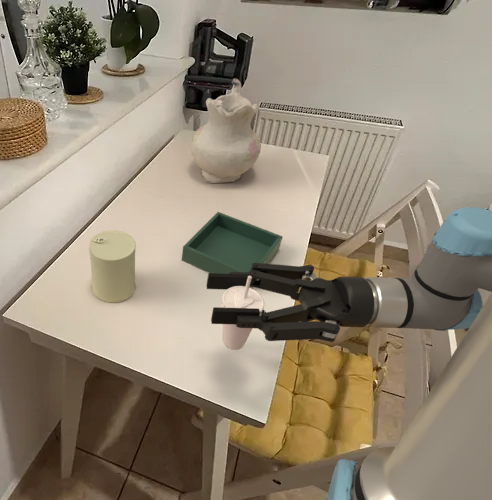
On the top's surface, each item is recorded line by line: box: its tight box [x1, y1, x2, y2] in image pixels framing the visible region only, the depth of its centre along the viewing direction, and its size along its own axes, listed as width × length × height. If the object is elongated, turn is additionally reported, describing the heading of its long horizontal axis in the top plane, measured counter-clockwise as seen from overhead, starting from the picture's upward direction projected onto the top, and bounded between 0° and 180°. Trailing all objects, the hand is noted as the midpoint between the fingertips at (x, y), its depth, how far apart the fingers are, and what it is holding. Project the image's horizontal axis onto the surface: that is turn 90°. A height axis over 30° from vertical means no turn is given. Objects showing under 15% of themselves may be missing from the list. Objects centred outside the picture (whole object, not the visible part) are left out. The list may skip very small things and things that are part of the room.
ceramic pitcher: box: [190, 77, 262, 184], centre depth 120 cm, size 22×20×25 cm
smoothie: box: [220, 276, 265, 351], centre depth 66 cm, size 6×6×14 cm
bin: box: [181, 211, 283, 289], centre depth 98 cm, size 17×17×4 cm
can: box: [88, 230, 137, 303], centre depth 87 cm, size 9×9×12 cm
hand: (210, 297), depth 64 cm, fingers closed on smoothie, 6 cm apart
